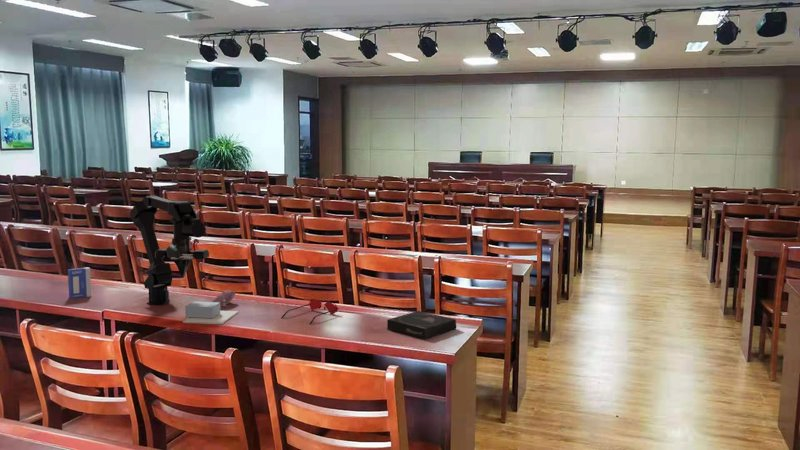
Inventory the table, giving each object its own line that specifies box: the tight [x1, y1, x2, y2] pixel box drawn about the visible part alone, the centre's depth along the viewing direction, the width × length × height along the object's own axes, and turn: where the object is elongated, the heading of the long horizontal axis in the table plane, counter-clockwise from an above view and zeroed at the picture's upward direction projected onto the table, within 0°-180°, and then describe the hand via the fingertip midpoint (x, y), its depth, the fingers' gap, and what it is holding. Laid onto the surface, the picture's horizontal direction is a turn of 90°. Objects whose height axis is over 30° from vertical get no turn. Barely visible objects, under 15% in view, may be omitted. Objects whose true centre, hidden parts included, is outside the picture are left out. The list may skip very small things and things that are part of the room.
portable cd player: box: [386, 310, 457, 341], centre depth 213 cm, size 16×17×4 cm
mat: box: [182, 310, 239, 325], centre depth 224 cm, size 14×16×1 cm
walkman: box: [67, 266, 92, 300], centre depth 252 cm, size 8×3×12 cm, turn 134°
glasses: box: [280, 298, 340, 325], centre depth 228 cm, size 14×16×5 cm
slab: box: [184, 301, 221, 318], centre depth 224 cm, size 4×7×10 cm
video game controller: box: [211, 289, 236, 307], centre depth 242 cm, size 10×5×7 cm, turn 162°
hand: (182, 276), depth 234 cm, fingers closed
